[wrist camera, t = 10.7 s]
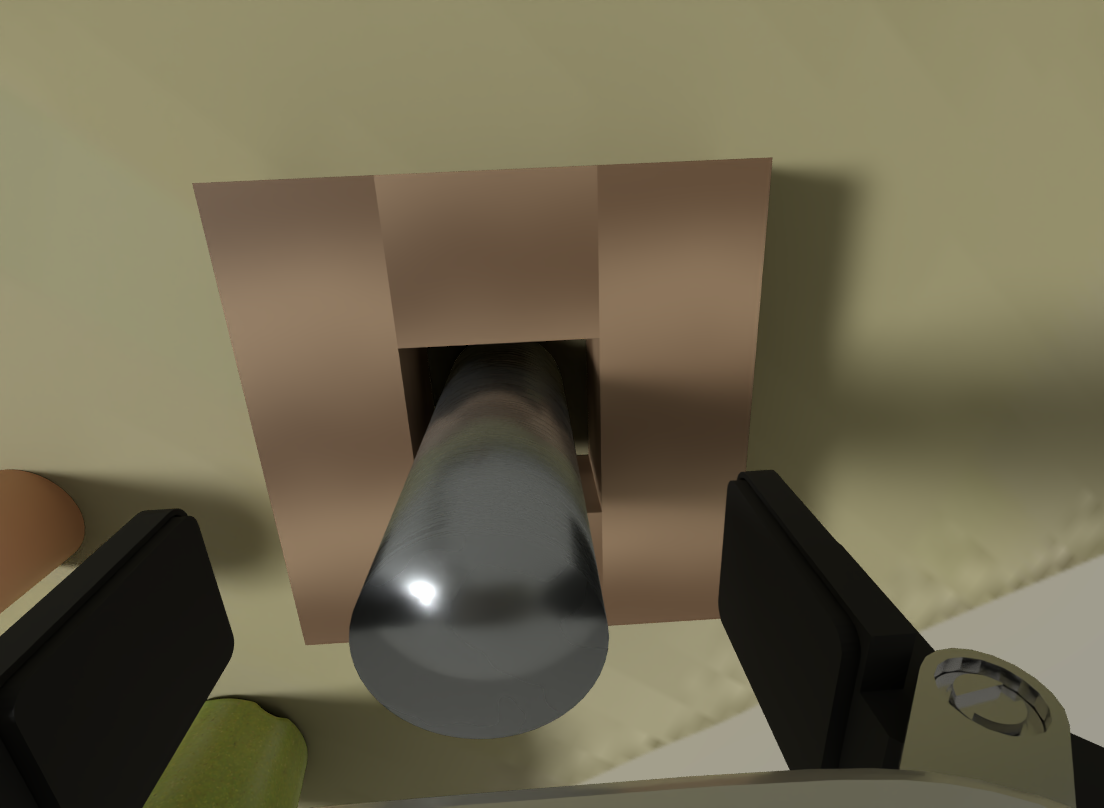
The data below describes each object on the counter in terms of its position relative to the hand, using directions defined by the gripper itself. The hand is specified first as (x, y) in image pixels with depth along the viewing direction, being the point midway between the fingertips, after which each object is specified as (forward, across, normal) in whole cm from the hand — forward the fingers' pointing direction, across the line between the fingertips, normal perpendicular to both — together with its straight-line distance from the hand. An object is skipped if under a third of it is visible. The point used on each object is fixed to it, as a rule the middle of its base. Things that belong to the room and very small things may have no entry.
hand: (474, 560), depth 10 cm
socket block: (+10, 0, +1) cm, 10 cm away
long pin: (+10, 0, +1) cm, 10 cm away
